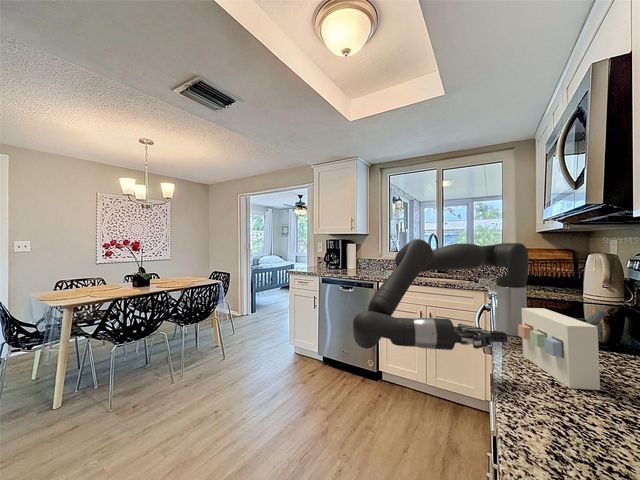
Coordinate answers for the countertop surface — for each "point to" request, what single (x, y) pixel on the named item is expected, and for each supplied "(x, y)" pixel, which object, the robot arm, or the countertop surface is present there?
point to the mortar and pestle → (595, 319)
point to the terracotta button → (524, 331)
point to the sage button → (537, 338)
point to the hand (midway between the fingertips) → (505, 337)
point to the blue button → (553, 347)
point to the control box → (564, 348)
